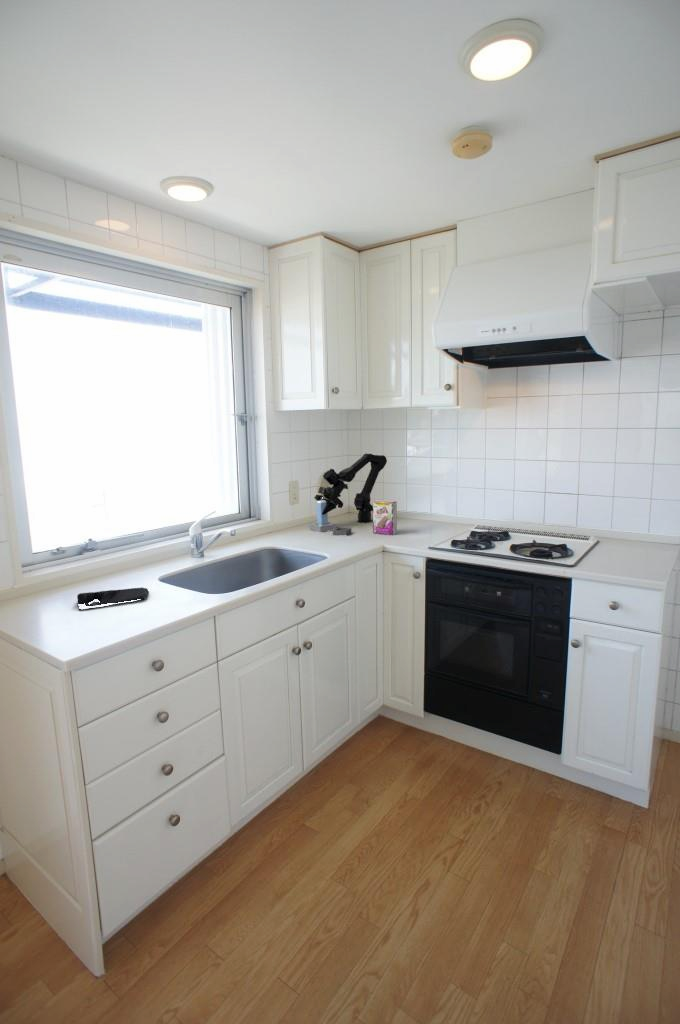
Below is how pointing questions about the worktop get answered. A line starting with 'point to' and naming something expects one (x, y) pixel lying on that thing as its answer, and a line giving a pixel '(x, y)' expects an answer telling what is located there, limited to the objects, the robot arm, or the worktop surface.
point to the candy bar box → (385, 517)
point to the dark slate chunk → (112, 596)
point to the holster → (341, 531)
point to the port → (322, 527)
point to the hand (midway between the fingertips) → (320, 513)
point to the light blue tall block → (321, 518)
